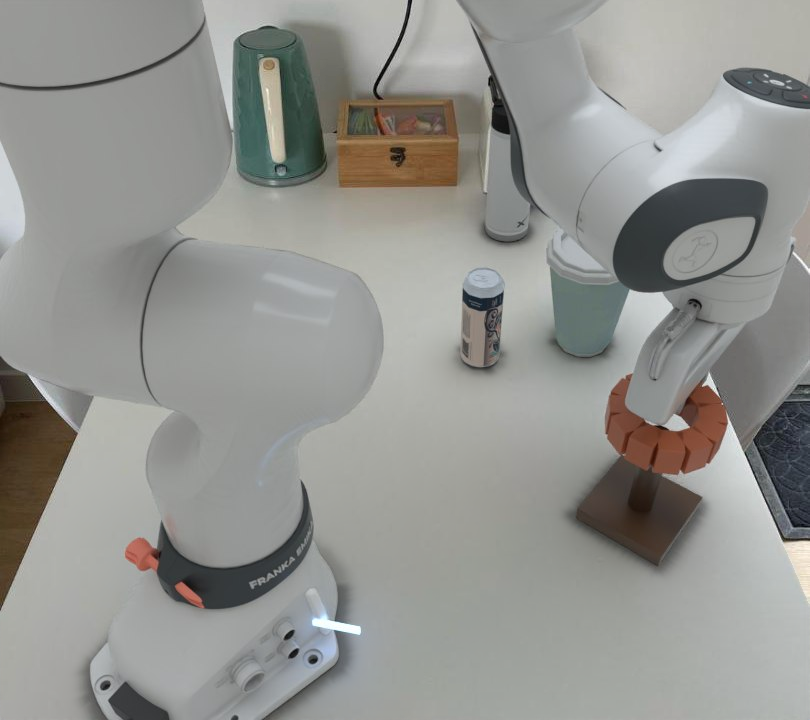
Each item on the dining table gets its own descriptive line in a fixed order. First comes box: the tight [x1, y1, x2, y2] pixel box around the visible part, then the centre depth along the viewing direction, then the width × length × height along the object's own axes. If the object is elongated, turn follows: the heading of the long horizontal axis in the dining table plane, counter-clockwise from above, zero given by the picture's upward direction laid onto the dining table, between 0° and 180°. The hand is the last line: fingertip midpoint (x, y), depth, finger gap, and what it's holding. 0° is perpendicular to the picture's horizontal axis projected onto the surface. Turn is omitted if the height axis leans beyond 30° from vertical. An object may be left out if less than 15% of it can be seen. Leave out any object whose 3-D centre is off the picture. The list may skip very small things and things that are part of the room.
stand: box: [575, 424, 703, 567], centre depth 77 cm, size 9×9×12 cm
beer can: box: [459, 266, 506, 368], centre depth 95 cm, size 5×5×12 cm
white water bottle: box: [484, 98, 531, 243], centre depth 112 cm, size 6×7×20 cm
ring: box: [604, 372, 729, 476], centre depth 72 cm, size 10×10×3 cm
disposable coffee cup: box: [545, 227, 631, 358], centre depth 96 cm, size 11×11×15 cm
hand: (683, 395), depth 74 cm, fingers closed on ring, 2 cm apart
